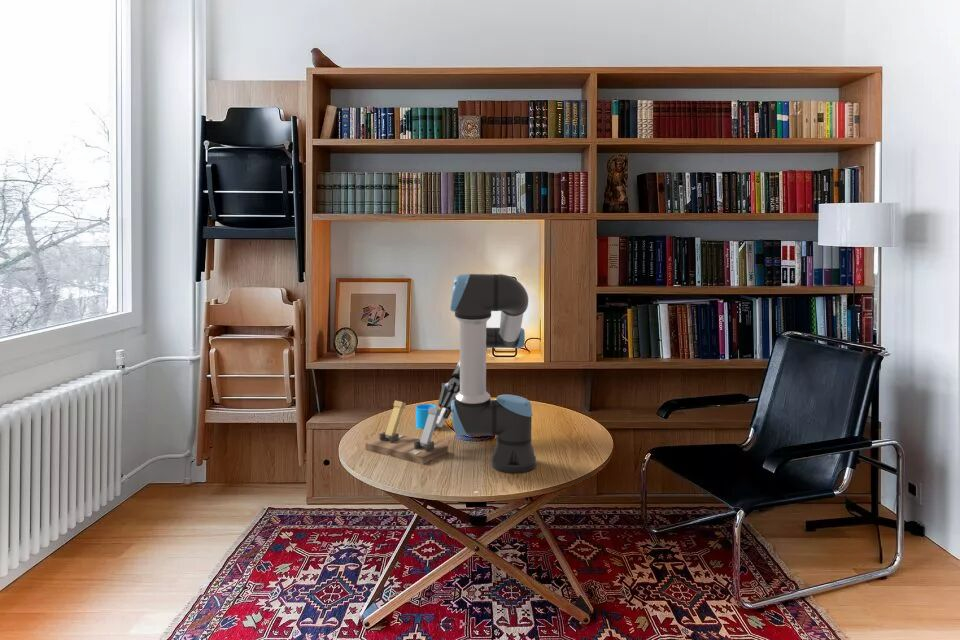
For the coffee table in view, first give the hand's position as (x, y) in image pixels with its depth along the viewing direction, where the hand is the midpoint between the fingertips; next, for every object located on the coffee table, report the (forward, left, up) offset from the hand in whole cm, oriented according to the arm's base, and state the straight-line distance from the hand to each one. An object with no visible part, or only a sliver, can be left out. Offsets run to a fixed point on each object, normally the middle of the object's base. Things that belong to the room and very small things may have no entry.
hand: (438, 425), depth 234 cm
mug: (+25, -13, -9) cm, 30 cm away
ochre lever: (+13, +13, -5) cm, 19 cm away
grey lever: (-3, +8, -5) cm, 10 cm away
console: (+5, +11, -9) cm, 15 cm away
